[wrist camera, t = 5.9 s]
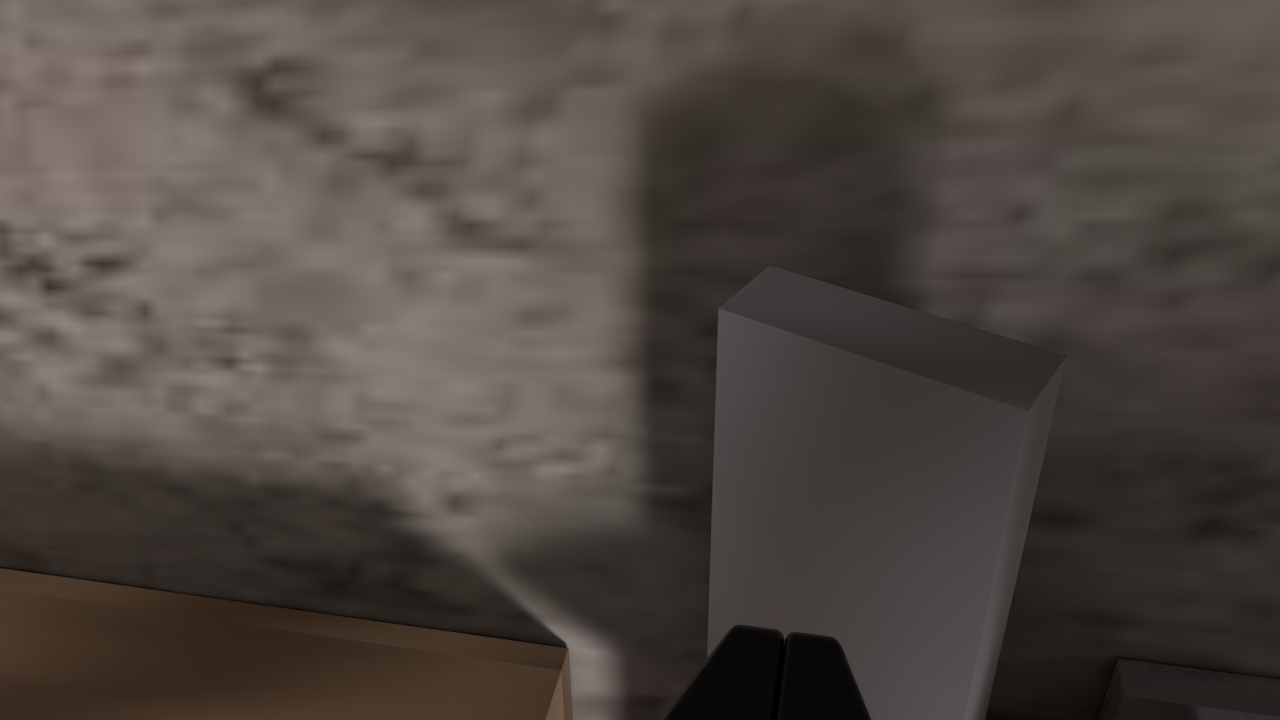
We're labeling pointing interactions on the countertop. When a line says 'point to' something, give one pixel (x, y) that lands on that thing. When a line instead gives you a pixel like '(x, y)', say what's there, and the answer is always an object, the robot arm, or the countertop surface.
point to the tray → (250, 661)
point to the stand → (1187, 694)
